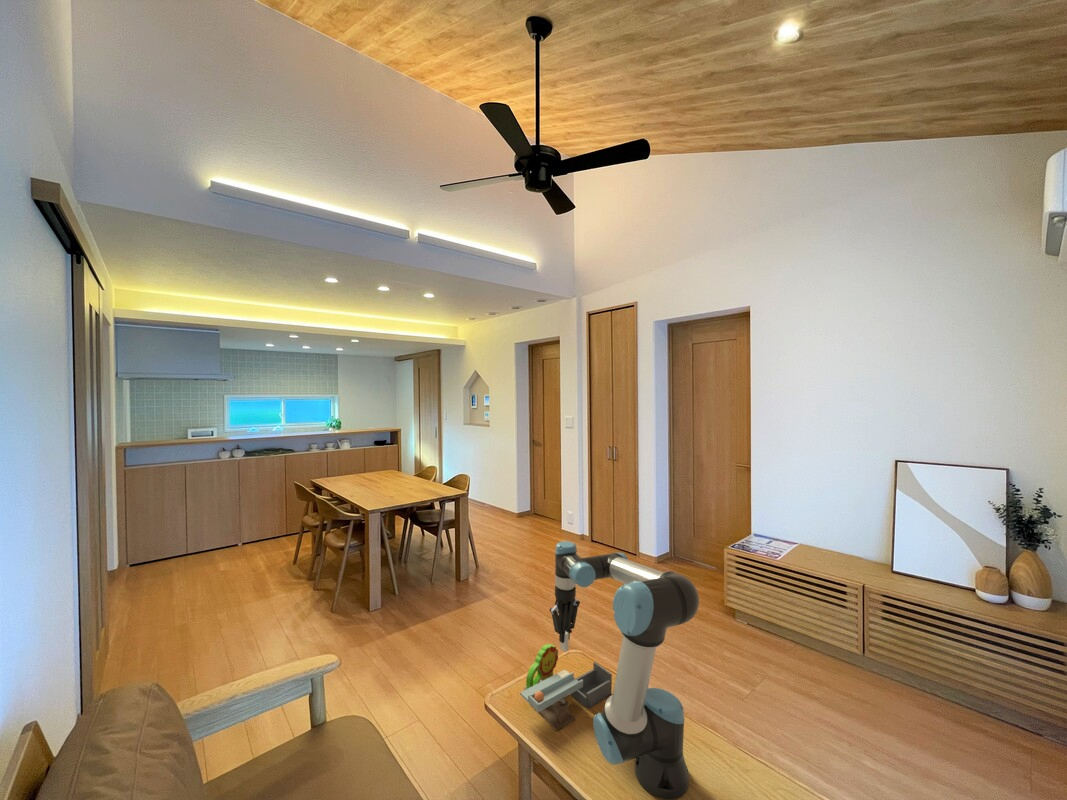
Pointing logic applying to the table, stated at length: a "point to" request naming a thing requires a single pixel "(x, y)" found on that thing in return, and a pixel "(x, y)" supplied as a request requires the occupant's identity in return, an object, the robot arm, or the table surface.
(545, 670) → the toy lion
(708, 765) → the table surface
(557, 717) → the stand
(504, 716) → the table surface
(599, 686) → the pulled-out tray drawer
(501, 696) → the table surface
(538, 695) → the ball
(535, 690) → the lever
